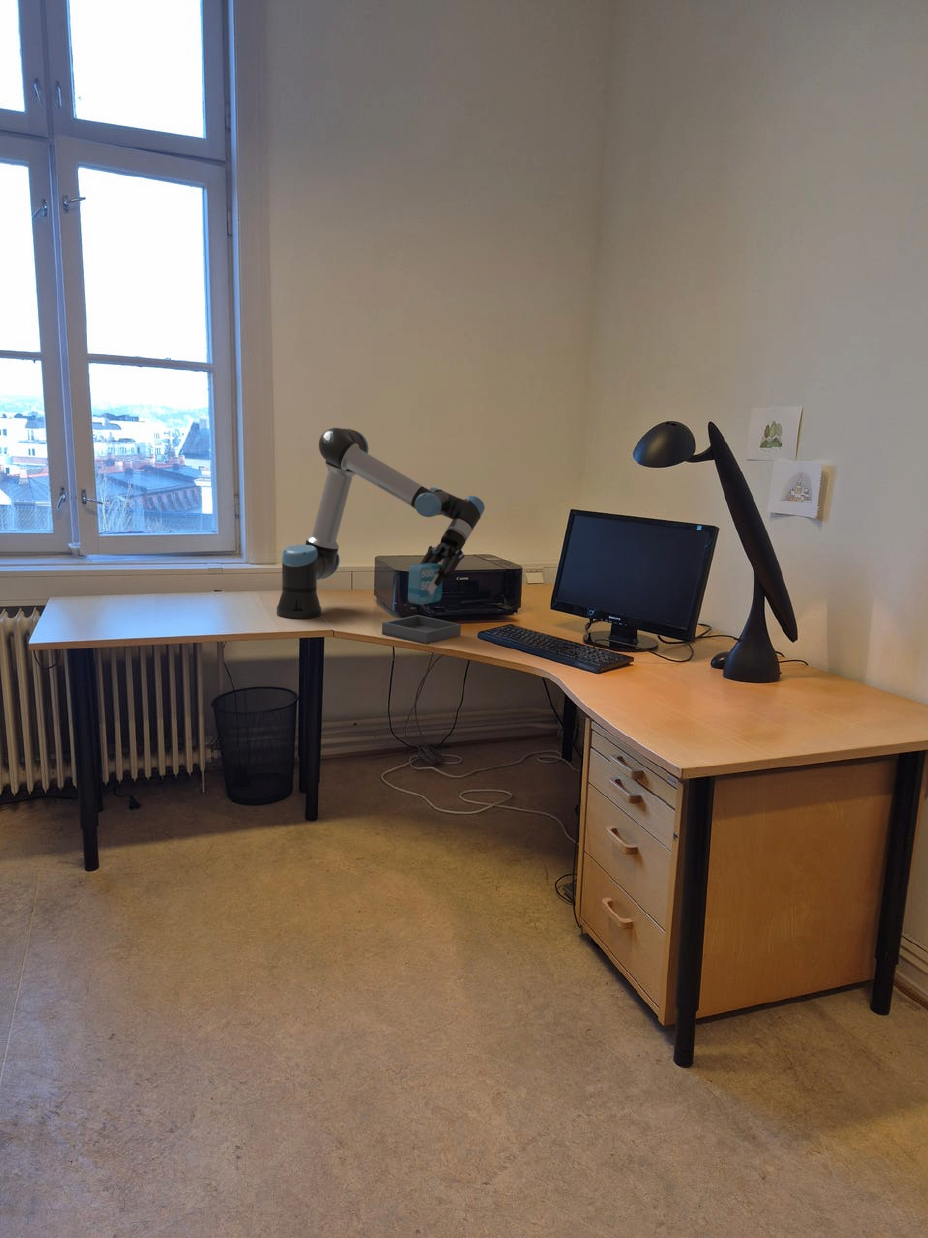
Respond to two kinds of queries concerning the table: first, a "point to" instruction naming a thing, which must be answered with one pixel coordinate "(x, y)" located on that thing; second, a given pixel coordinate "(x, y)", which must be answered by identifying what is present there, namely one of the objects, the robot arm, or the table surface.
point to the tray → (421, 629)
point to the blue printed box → (423, 583)
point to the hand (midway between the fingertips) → (422, 590)
